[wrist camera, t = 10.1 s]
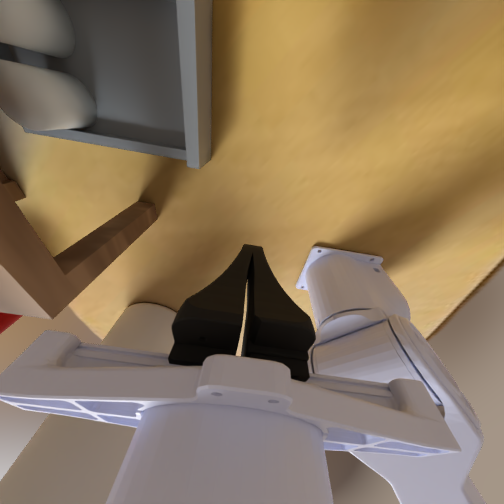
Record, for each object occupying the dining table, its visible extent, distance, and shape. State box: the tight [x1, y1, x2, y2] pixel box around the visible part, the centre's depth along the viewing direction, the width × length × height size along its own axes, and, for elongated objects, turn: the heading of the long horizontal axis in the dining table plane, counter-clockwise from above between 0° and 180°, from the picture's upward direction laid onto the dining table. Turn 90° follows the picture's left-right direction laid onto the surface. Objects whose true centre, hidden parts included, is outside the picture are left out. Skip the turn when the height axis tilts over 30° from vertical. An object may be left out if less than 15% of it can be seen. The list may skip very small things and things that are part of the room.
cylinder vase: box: [0, 303, 177, 504], centre depth 27 cm, size 12×12×25 cm
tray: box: [0, 0, 212, 169], centre depth 13 cm, size 16×10×5 cm, turn 82°
